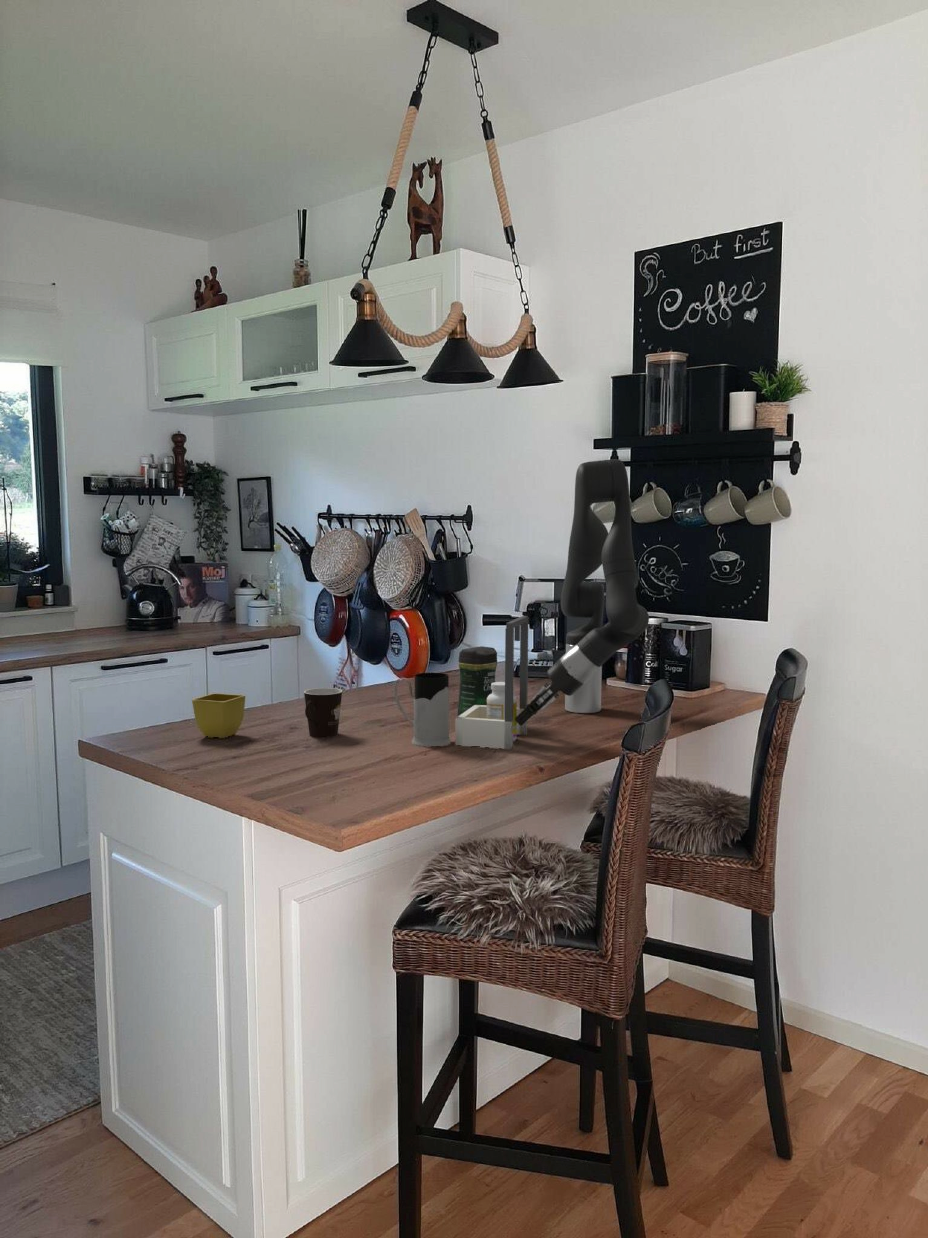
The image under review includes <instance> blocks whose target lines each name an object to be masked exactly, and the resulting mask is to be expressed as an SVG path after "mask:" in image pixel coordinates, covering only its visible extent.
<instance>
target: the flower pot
mask: <svg viewBox="0 0 928 1238" xmlns="http://www.w3.org/2000/svg"><path fill="white" fill-rule="evenodd" d="M191 701H192V708H193V713H194V719H195V723H196V725H197V728H198V729H199V731H200V732H201V733H202V735H203V736H204V737H205V736H208V737H207V738H213V737H219V738H218V739H222V738H223V739H225V737H226V738H228V736H229V737H231V736H234V735H236V734H237V733H238V731H239V729H240V727H241V725H242V722H243V720H244V715H245V707H246V706H245V705H246V694H245V695H244V694H232V693H231V694H230V693H219V692H218V693H217V692H215V693H214V692H213V693H209V694H207V695H206V694H205V695H203V696H200V697H196V698H193V699H191ZM233 734H234V735H233Z"/></svg>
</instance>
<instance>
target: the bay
mask: <svg viewBox="0 0 928 1238" xmlns="http://www.w3.org/2000/svg"><path fill="white" fill-rule="evenodd" d="M528 620H529V617H528V615H521V616H520V617H517V618H514V619H513V620H510V621H508V622H506V623H505V625H506V626H505V639H504V640H505V643H504V645H505V646H504V648H505V649H504V653H505V654H504V656H505V657H504V664H505V665H504V682H505V720H498V719H487V705H474V706H472V707H471V708H470V709H468V710H467V711H465V712H464V713H462V714H461V715H459V716H458V717H455V719H454V721H455V726H454V727H455V728H454V731H455V732H454V733H455V734H454V735H455V740H454V741H455V746H457V745H461V746H460V747H471V746H480V747H479V748H485V747H489V748H488V749H499V748H502V750H503V749H504V750H512V749H513V748H514V744H513V743H514V741H513V695H514V666H515V665H514V664H515V663H514V661H515V660H514V659H515V658H514V657H515V656H514V655H515V654H514V653H515V642H520V643H519V653H520V654H519V706H518V707H517V716H518V715H519V714H520V713H521V712H522V711H523V710H524V709H525V708H526V707H527V705H528V695H529V694H528V690H529V689H528V687H529V686H528V685H529V684H528V683H529V682H528V680H529V672H528V671H529V669H528V668H529V621H528ZM527 734H528V720H527V721H526V722H525V723H524V724H523V725H519V724H518V723H517V735H518V736H519V735H520V736H522V735H523V736H526V735H527Z"/></svg>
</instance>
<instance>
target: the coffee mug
mask: <svg viewBox="0 0 928 1238" xmlns="http://www.w3.org/2000/svg"><path fill="white" fill-rule="evenodd" d="M303 695H304V696H303V697H304V702H305V703H304V704H305V708H304V714H305V717H306V719H307V720H306V721H307V726H308V733H309V735H308V736H310V737H312V738H317V739H318V738H319V739H320V738H321V739H325V738H326V739H327V738H333V737H336V736H338V733H339V727H340V717H341V715H340V714H341V706H342V705H341V704H342V698H343V697H342V696H343V690H342V689H339V688H334V687H333V688H332V687H319V688H318V687H317V688H310V689H306V690H304V691H303Z"/></svg>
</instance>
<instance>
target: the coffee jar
mask: <svg viewBox="0 0 928 1238" xmlns="http://www.w3.org/2000/svg"><path fill="white" fill-rule="evenodd" d="M497 667H498V652H497V650H496V649H495V647H491V646H490V647H489V646H474V647H468V648H463V649H461V650H460V651H459V654H458V669H459V692H458V702H457V703H458V705H457V717H458V716H459V715H461V714H462V713H464V712H465V711H467V710H468V709H470V708H471V707H472V706H474V705H487V697H488V696H489V695H490V694H492V689H491V683H494V682H496V672H497V671H496V670H497ZM457 717H456V718H457Z"/></svg>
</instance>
